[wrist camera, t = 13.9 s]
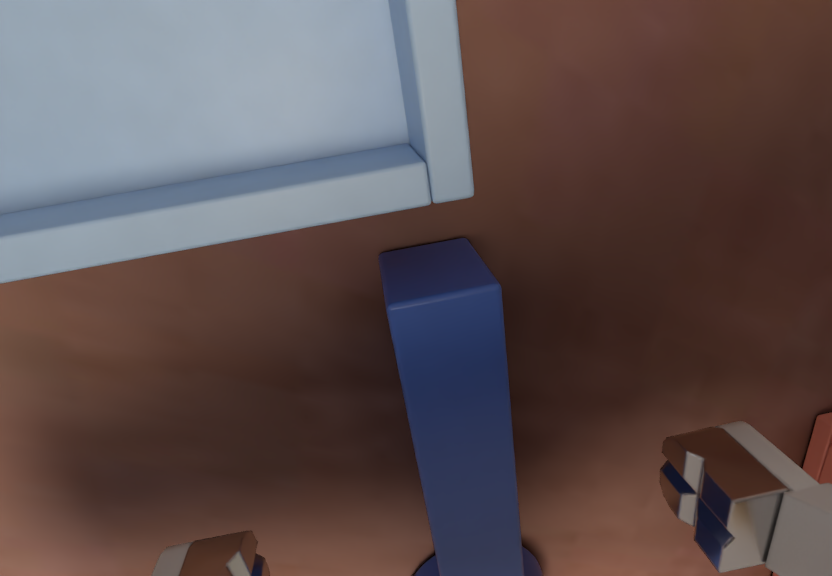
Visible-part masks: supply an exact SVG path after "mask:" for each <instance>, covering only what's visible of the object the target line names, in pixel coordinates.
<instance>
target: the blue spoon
mask: <svg viewBox="0 0 832 576" xmlns="http://www.w3.org/2000/svg"><path fill="white" fill-rule="evenodd" d="M378 259H379V266H380V272H381V279H382V286H383V292H384V299H385V306H386V312H387V317H388V322H389V327H390V331H391V336H392V341H393V346H394V351H395V356H396V361H397V366H398V371H399V376H400V381H401V386H402V391H403V396H404V401H405V406H406V411H407V416H408V421H409V426H410V430H411V435H412V440H413V445H414V450H415V455H416V460H417V465H418V470H419V475H420V480H421V485H422V490H423V495H424V500H425V505H426V510H427V515H428V520H429V525H430V530H431V534H432V539H433V544H434V549H435V554H436V555H434V556H433V557H432V558H430V559H429V560H428V561H427V562H425V563H424V564H423V565H422V566H421V567H420V569H419V570H418V571H417V572H416V574H415V575H414V576H543V573H542V571H541V568H540V566H539V563H538V561H537V560H536V558H535V557H534V556H533V555H532V554H531V553H530V552H529V551H528V550H527V549H525V548H524V547H522V542H521V529H520V517H519V504H518V492H517V479H516V466H515V454H514V441H513V428H512V416H511V403H510V391H509V378H508V365H507V353H506V340H505V327H504V315H503V302H502V290H501V285H500V284H499V282H498V281H497V279H496V278H495V277H494V275H493V274H492V273H491V271H490V270H489V269H488V267H487V266H486V264H485V263H484V262H483V260H482V259H481V258H480V256H479V255H478V253H477V252H476V251H475V249H474V248H473V247H472V245H471V244H470V242H469V241H468V240H467V239H466V238H460V239H454V240H449V241H443V242H438V243H433V244H427V245H422V246H417V247H411V248H406V249H401V250H395V251H390V252H385V253H381V254H380V255H379V258H378Z"/></svg>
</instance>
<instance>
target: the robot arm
mask: <svg viewBox="0 0 832 576" xmlns="http://www.w3.org/2000/svg"><path fill="white" fill-rule="evenodd" d="M662 453H663V454H664V456H665V457H666V458H667V459H668V460H667V461H666V462H665V464H664V465H663V466H662V467H661V469H660V485H661V489H662V492H663V496H664V498H665V499H666V501H667V503H668V505H669V507H670V508H671V510H672V511H673V512H674V514H675V515H676V517H677V518H678V519H680V520H681V521H683V522H685V523H687V524H689V525H691V526H692V527H694V541H695V542H696V543H697V544H698V546H699V547H700V548H701V550H702V551H703V552H704V554H705V555H706V556H707V558H708V559H709V560H710V562H711V563H712V564H713V565H714V567H715V568H716V569H717V571H718V572H719V573H722V572H727V571H731V570H736V569H741V568H746V567H751V566H756V565H761V564H765V563H766V564H765V567H767V568H768V569H770V570H771V571H773V572H774V573H776V574H777V575H779V576H832V484H830V483H823V484H819V483H818V482H817V481H816V480H815V479H813V478H812V477H811V476H810V475H809V474H808V473H806V472H805V471H804V470H803V469H802V468H800V467H799V466H798V465H797V464H796V463H795V462H793V461H792V460H791V459H790V458H789V457H787V456H786V455H785V454H784V453H783V452H782V451H780V450H779V449H778V448H777V447H776V446H774V445H773V444H772V443H771V442H770V441H769V440H767V439H766V438H765V437H764V436H763V435H761V434H760V433H759V432H758V431H757V430H756V429H754V428H753V427H752V426H751V425H749V424H748V423H745V422H743V421H737V422H733V423H728V424H724V425H719V426H716V427H709V428H704V429H700V430H696V431H692V432H687V433H683V434H679V435H675V436H670V437H667V438H666V439H665V440H664V442H663V446H662ZM257 543H258V542H257V540H256V538H255V536H254V534H253V532H252V531H243V532H238V533H233V534H227V535H222V536H217V537H212V538H207V539H201V540H196V541H192V542H188V543H183V544H178V545H173V546H168V547H166V548H165V550H164V551H163V552H162V553H161V554H160V556H159V558H158V560H157V563H156V565H155V568H154V570H153V573H152V575H151V576H270V572H269V567H268V564H267V562H266V560H265V558H264V557H262V556H260V555H258V554H257V553H256V548H257Z"/></svg>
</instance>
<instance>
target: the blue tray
mask: <svg viewBox="0 0 832 576" xmlns="http://www.w3.org/2000/svg"><path fill="white" fill-rule="evenodd" d="M473 195H474V182H473V171H472V161H471V151H470V141H469V130H468V120H467V110H466V99H465V89H464V79H463V68H462V58H461V48H460V38H459V27H458V17H457V7H456V0H0V284H1V283H7V282H12V281H18V280H23V279H29V278H34V277H40V276H45V275H51V274H56V273H61V272H67V271H72V270H78V269H83V268H89V267H94V266H100V265H105V264H111V263H116V262H122V261H127V260H133V259H138V258H144V257H149V256H155V255H160V254H166V253H171V252H176V251H182V250H187V249H193V248H198V247H204V246H209V245H215V244H220V243H226V242H231V241H237V240H242V239H248V238H253V237H259V236H264V235H270V234H275V233H281V232H286V231H292V230H297V229H302V228H308V227H313V226H319V225H324V224H330V223H335V222H341V221H346V220H352V219H357V218H363V217H368V216H374V215H379V214H385V213H390V212H396V211H401V210H407V209H412V208H418V207H423V206H428V205H429V204H431V201H433V203H437V204H438V203H444V202H449V201H455V200H460V199H466V198H470V197H472V196H473Z"/></svg>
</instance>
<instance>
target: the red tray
mask: <svg viewBox="0 0 832 576" xmlns="http://www.w3.org/2000/svg"><path fill="white" fill-rule="evenodd" d="M802 469H803V470H804V471H805V472H806V473H808V474H809V475H810V476H811V477H812V478H813V479H815V480H816V481H817V482H818V483H819V484H823V483H830V484H832V412H831V413H826V414H822V415H818V416H817V418H816V422H815V425H814V429H813V433H812V436H811V440H810V443H809V447H808V450H807V454H806V457H805V461H804V464H803V468H802ZM772 576H779V575H777V574H776V573H774V572H773V574H772Z"/></svg>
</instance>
